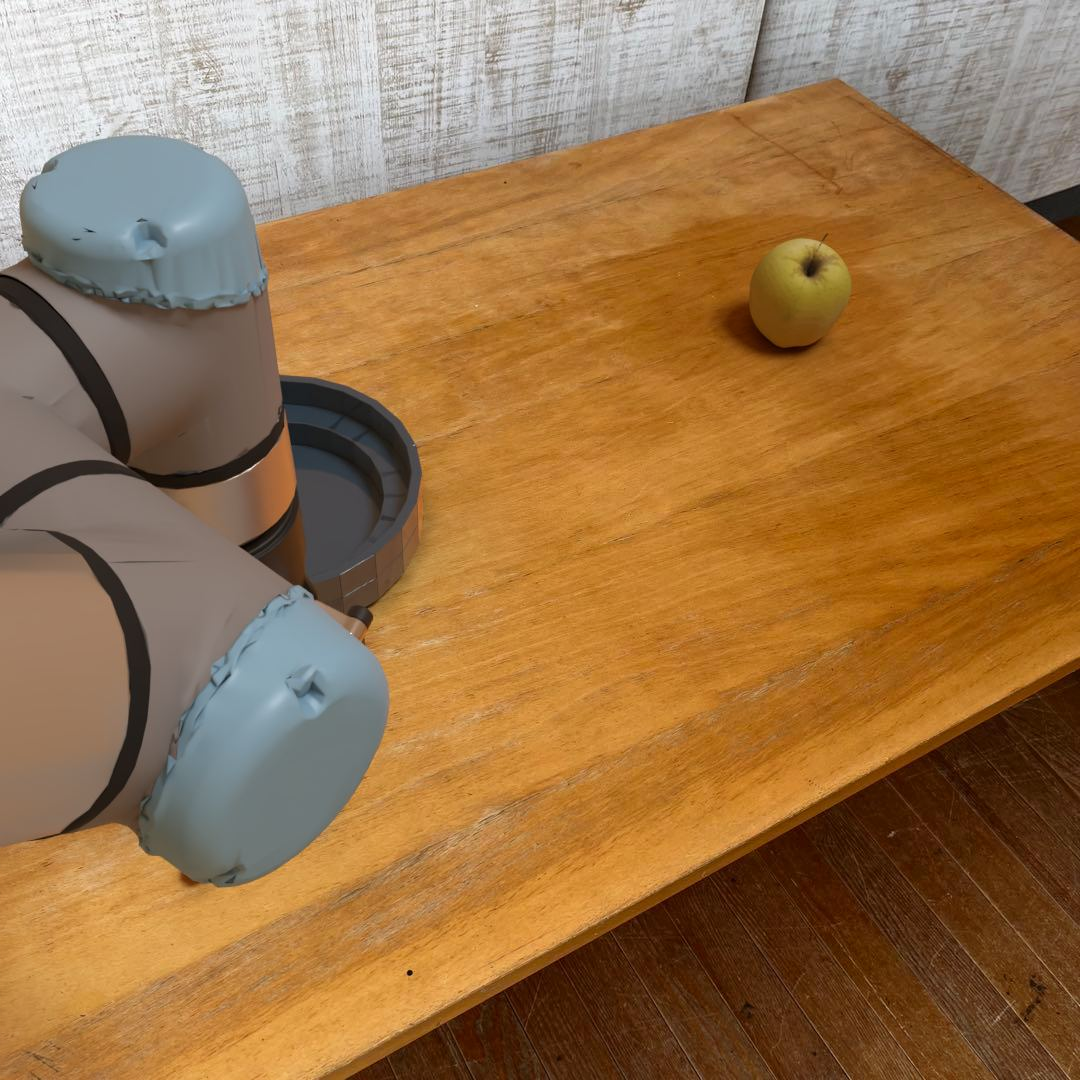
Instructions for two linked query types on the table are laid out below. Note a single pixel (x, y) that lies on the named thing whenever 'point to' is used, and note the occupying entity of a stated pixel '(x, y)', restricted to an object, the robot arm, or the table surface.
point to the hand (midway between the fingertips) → (275, 777)
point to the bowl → (352, 489)
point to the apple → (798, 292)
